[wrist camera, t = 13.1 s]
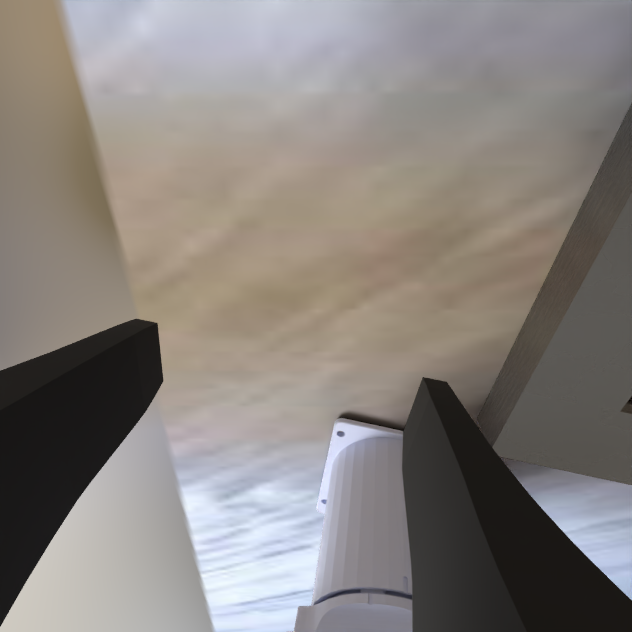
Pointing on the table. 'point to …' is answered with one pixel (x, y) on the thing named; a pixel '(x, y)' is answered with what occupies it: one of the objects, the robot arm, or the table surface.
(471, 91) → the table surface
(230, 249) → the table surface
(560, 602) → the robot arm
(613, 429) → the keyhole bracket
